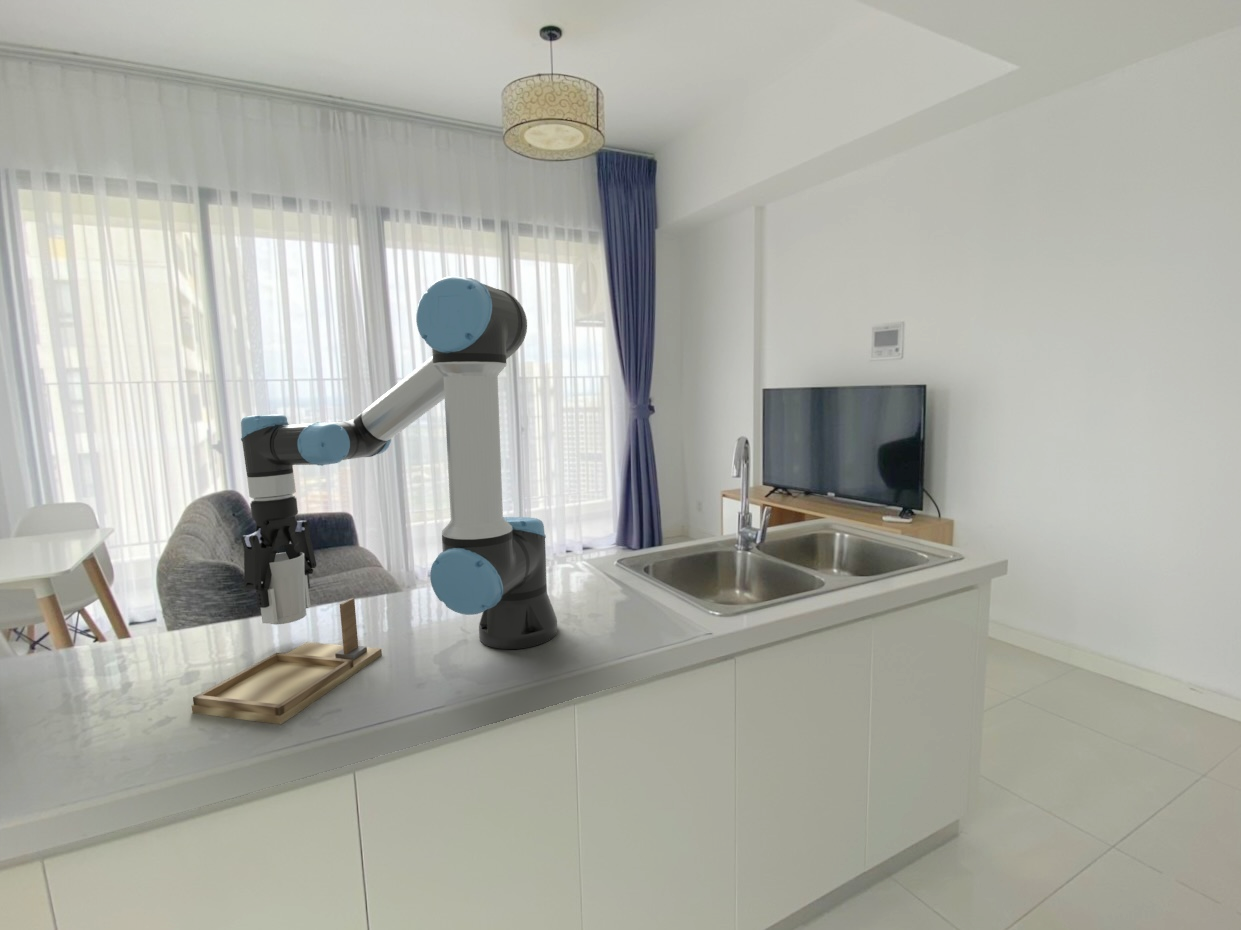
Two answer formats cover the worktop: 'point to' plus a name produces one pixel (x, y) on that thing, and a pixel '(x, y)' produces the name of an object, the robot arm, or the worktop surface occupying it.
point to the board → (289, 678)
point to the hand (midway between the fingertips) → (287, 614)
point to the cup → (288, 587)
